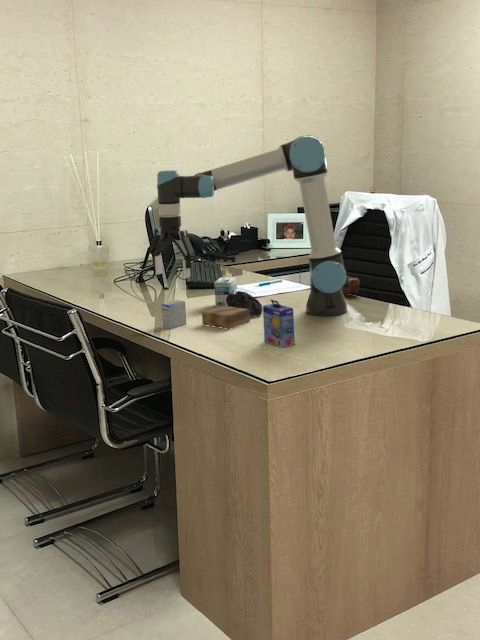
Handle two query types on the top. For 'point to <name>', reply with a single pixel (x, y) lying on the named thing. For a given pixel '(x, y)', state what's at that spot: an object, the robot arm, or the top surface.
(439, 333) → the top surface
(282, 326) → the ink cartridge box
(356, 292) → the decorative turtle
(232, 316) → the walnut desk box
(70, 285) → the top surface
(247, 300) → the black rock
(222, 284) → the light bulb box
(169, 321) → the medicine box
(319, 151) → the robot arm
